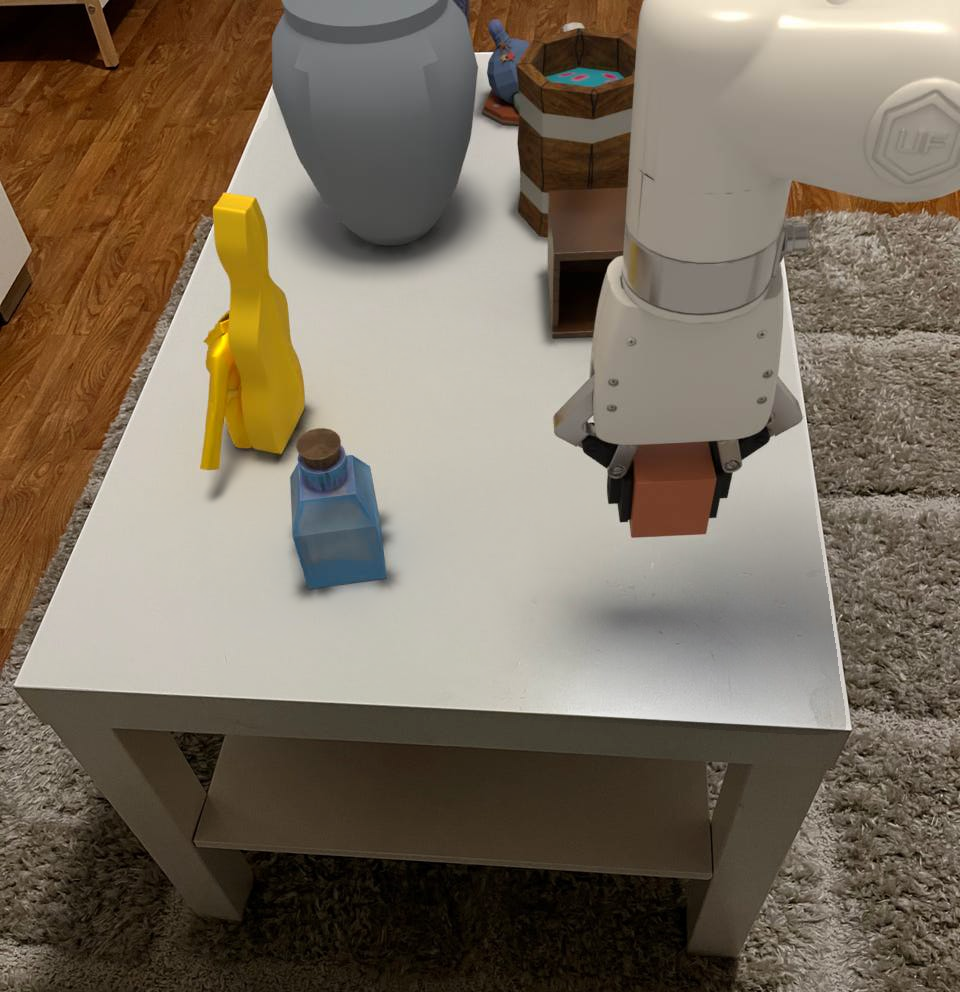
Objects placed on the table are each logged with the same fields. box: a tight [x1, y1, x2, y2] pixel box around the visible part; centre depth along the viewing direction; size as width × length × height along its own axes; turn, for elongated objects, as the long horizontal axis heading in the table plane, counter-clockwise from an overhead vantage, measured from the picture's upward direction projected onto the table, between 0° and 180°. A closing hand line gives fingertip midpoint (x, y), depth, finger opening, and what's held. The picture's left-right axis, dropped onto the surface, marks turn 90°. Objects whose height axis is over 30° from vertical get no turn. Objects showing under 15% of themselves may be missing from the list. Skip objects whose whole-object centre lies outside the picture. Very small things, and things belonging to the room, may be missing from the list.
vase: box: [271, 0, 479, 246], centre depth 95 cm, size 20×20×24 cm
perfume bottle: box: [289, 427, 388, 590], centre depth 73 cm, size 6×6×12 cm
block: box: [628, 441, 717, 539], centre depth 62 cm, size 5×5×5 cm
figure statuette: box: [199, 192, 306, 471], centre depth 78 cm, size 18×8×22 cm, turn 166°
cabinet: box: [546, 187, 628, 339], centre depth 91 cm, size 18×10×9 cm, turn 90°
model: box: [481, 18, 531, 127], centre depth 114 cm, size 12×9×9 cm
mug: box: [516, 21, 637, 238], centre depth 101 cm, size 20×14×15 cm
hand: (665, 502), depth 63 cm, fingers closed on block, 4 cm apart
